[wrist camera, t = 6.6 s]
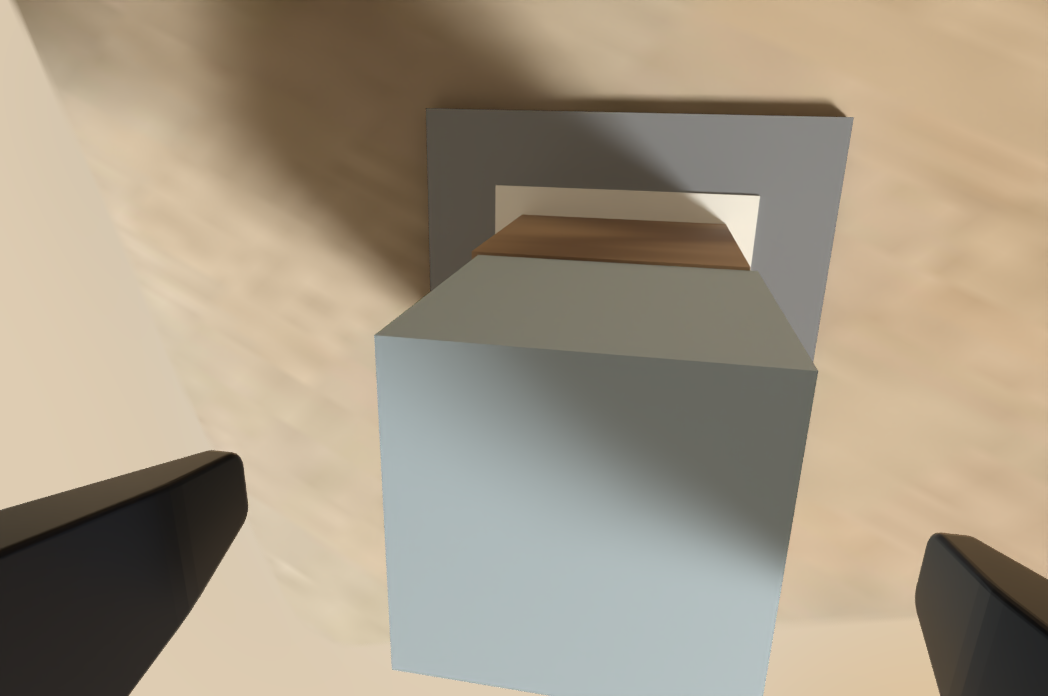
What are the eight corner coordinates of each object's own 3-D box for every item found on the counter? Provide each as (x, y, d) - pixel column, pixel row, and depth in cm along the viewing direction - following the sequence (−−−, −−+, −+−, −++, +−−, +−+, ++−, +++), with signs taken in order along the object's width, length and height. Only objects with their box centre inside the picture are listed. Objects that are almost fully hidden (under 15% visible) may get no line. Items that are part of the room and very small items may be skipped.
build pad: (848, 117, 16) (854, 117, 15) (786, 496, 19) (789, 507, 19) (431, 108, 18) (425, 108, 17) (439, 458, 21) (434, 467, 20)
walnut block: (726, 224, 17) (750, 267, 12) (704, 413, 18) (718, 516, 14) (522, 214, 18) (471, 251, 13) (518, 396, 19) (472, 487, 15)
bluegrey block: (724, 519, 14) (756, 729, 9) (478, 490, 15) (391, 669, 10) (758, 271, 12) (818, 371, 7) (478, 254, 13) (374, 335, 8)
